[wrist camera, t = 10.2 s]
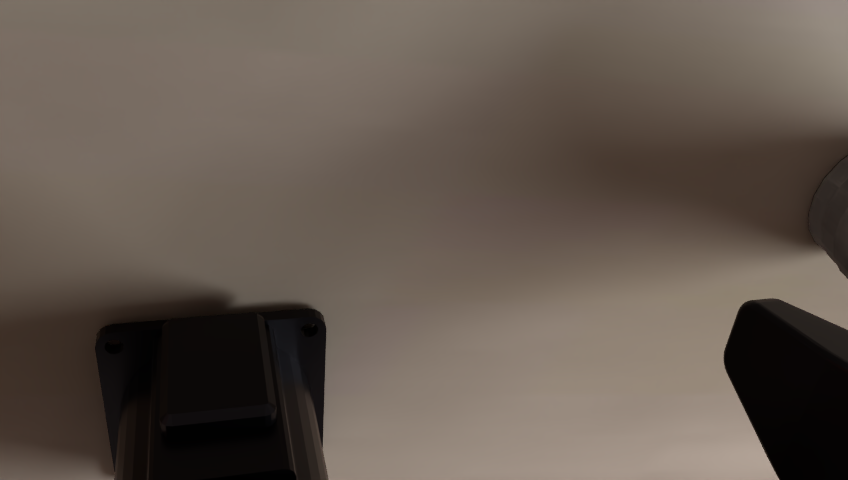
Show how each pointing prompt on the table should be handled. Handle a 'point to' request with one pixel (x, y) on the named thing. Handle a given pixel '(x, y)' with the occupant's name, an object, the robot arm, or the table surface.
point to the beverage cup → (832, 215)
